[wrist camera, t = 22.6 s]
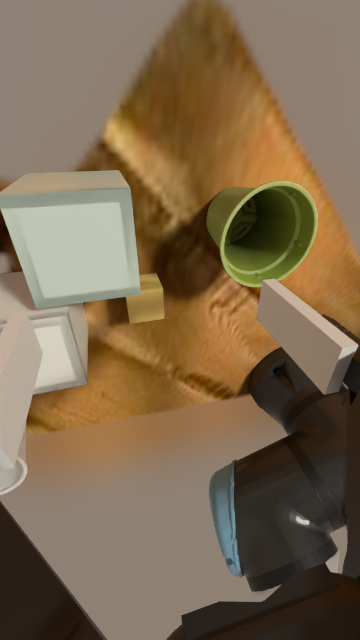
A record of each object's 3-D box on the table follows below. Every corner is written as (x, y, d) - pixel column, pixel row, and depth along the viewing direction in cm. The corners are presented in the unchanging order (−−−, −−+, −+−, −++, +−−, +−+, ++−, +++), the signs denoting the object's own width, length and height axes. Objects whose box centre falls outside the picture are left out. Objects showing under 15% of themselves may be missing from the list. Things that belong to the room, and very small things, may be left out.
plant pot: (243, 146, 28) (293, 152, 21) (282, 217, 33) (331, 240, 26) (174, 213, 30) (199, 239, 23) (221, 269, 35) (253, 304, 28)
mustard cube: (157, 301, 35) (164, 318, 32) (126, 305, 34) (129, 323, 31) (156, 272, 33) (162, 288, 30) (122, 276, 32) (125, 292, 29)
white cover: (88, 325, 34) (86, 384, 27) (18, 335, 33) (-5, 401, 25) (73, 266, 30) (66, 315, 22) (-8, 274, 28) (-47, 331, 20)
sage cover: (118, 170, 26) (130, 188, 18) (128, 251, 31) (141, 294, 23) (27, 173, 24) (-5, 195, 16) (51, 259, 29) (36, 308, 21)
